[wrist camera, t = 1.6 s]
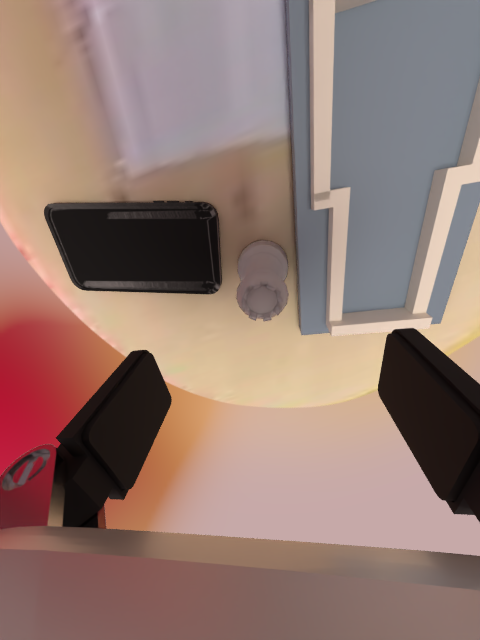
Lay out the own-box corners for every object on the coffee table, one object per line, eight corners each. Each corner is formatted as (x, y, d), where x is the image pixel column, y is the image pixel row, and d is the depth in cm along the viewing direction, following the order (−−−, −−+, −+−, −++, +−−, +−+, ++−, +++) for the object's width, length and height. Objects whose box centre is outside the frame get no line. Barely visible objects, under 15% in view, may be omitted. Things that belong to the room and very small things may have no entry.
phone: (221, 294, 21) (75, 290, 22) (223, 290, 22) (83, 286, 23) (215, 200, 17) (38, 202, 18) (218, 200, 18) (49, 201, 19)
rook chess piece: (259, 227, 18) (256, 248, 11) (298, 261, 19) (317, 299, 13) (228, 268, 20) (210, 307, 13) (265, 296, 21) (265, 346, 15)
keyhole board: (284, -10, 12) (291, -77, 9) (549, -100, 10) (669, -224, 7) (299, 327, 23) (304, 347, 20) (429, 315, 21) (457, 336, 18)
